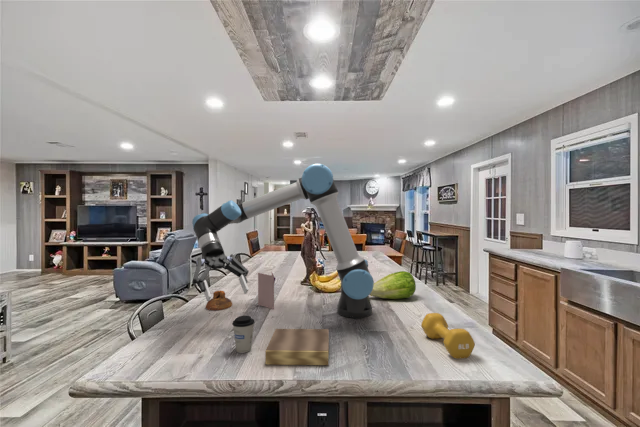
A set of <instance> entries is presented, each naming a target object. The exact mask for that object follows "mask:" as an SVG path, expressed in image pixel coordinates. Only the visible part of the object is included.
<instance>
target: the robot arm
mask: <svg viewBox="0 0 640 427" xmlns="http://www.w3.org/2000/svg"><path fill="white" fill-rule="evenodd" d="M301 175H302V176H301V177H299V178H297V179H296V182H293V183H291V184H288V185H285V186H282V187H280V188H277V189H274V190H272V191H269V192H266V193H265V194H262V195H259V196H256V197H253V198H251V199H248V200H245V201H243V202H241V203H238V204H237V203H236V202H235V201H234V200H232V199H231V200H228V201H226V202H225V203H222V204H221V205H220V206H219V207H217V208H216V209H214V210H213V211H212V212H210V213H209V214H208V213H200V214H196V215H195V216H194V217H193V218H192V222H191V223H192V228H193V231H194V234H195V236H196V239H197V241H198V246H199V249H200V251H201V254H202V255H201V256H202V257H203V258H201V257H197V259H196V261H195V264H196V268H195V272H194V274H193V278H192V282H191V283H192V285H196V284H197V285H196V286H198V287H199V289H200V292H201V293H203V294H204V296H205V300H206V302H208V301H209V300H210V299H212V295H211V292H210V288H209V284H208V282H207V280H206V278H207V275H208V274H209V273H210V271H211V270H213V271H214V270H218V269H220V270H221V269H224V270H227V271H228V272H230V273H231V274H234V275H235V276H236V277H238V281H239V284H240V287H241V288H242V291H243V294H244V295H247V293H248V292H249V289H250V288H249V286H248V282H249V281H248V278H247V276H248V274H249V270H248V268H246V267H245V266H244V265H243V264H242V263H241V262H240V261H239V260H238V259H237V258H236V257H235V255H234V254H233V253H232V254H230V255H228V256H227V255H226V254H225V251H224V248H223V245H222V244H221V240H220V237H219V235H218V233H217V232H219V231H220V230H221V231H222V229H224V228H226V227H227V226H228V225H230V224H231V225H232V224H240V223H243V222H244V221H247V220H248V219H252V218H253V217H256V216H258V215H259V216H260V215H262V214H264V213H267V212H270V211H272V210H275V209H277V208H280V207H282V206H286V205H289V204H292V203H294V202H296V201H300V200H301V199H302V200H306V201H307V200H309V203H310V204H312V205H313V206H315V207H316V210H317V212H318V215H319V218H320V219H321V222H322V225H323V227H324V230H325V233H326V236H327V237H328V241H329V243H330V246H331V248H332V250H333V254H334V256H335V259H336V261H337V266H336V268H335V270H336V272H337V275H338V277H339V280H340V296H339V300H338V303H337V305H336V312H337V314H338V315H340V316H342V317H346V318H351V319H354V318H355V319H359V318H367V317H369V316H371V315H372V314H373V307H372V306H373V305H372V303H371V301H370V297H369V296H370V295H369V294H370V293H371V292H372V290H373V286H374V283H375V281H374V278H373V276H372V274H371V273H370V270H369V264H368V260H367V259H365V258H364V257H363V256H361V255H359V252H358V250H357V247H356V245H355V243H354V242H355V241H354V240H353V238H352V235H351V232H350V230H349V227H348V225H347V221H346V219H345V217H344V214H343V210H342V208H341V206H340V204H339V201H338V195H339V191H338V187H337V185H336V183H335V179H334V175H333V172H332V170H331V169H330V167H328V166H327V165H325V164H322V163H314V164H310V165H309V166H307V167H306V168H305V169H304V171H303V172H302V174H301ZM203 265H206V266H207V267H206V268H205V270H204V271H203V272H202V274H201V275H200V277H199V274H200V271H201V267H202V266H203Z"/></svg>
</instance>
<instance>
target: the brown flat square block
mask: <svg viewBox="0 0 640 427" xmlns="http://www.w3.org/2000/svg"><path fill="white" fill-rule="evenodd" d="M329 332H330V330H329V328H275V329H274V331H273V334H272V336H271V338H270V341H269V342H268V345H267V347H266V348H265V354H264V355H265V356H264V358H265V365H270V366H271V365H273V366H274V365H276V366H277V365H280V366H281V365H283V366H284V365H285V366H286V365H287V366H291V365H292V366H329V356H330V355H329V354H330V353H329V346H330V345H329V344H330V341H329V339H330V337H329V336H330V333H329Z"/></svg>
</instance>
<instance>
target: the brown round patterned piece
mask: <svg viewBox="0 0 640 427" xmlns="http://www.w3.org/2000/svg"><path fill="white" fill-rule="evenodd" d="M212 296H213V297H211V298H210V300H209V301H206V304H205V309H206V310H208V311H213V312H215V311H223V310H228V309H230V308H231V307H233V301H232V300H231V299H230V298H228V297H226V293H225V291H224V290H216V291H214V292H213V293H212Z"/></svg>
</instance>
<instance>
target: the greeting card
mask: <svg viewBox="0 0 640 427" xmlns="http://www.w3.org/2000/svg"><path fill="white" fill-rule="evenodd" d="M275 281H276V277H275V276H274V273H273V272H271V274H265V273H263V272H262V273H261V272H258V273H257V294H258V295H257V304H258V306H262V307H266V308H268V309H272V310H275Z"/></svg>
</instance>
